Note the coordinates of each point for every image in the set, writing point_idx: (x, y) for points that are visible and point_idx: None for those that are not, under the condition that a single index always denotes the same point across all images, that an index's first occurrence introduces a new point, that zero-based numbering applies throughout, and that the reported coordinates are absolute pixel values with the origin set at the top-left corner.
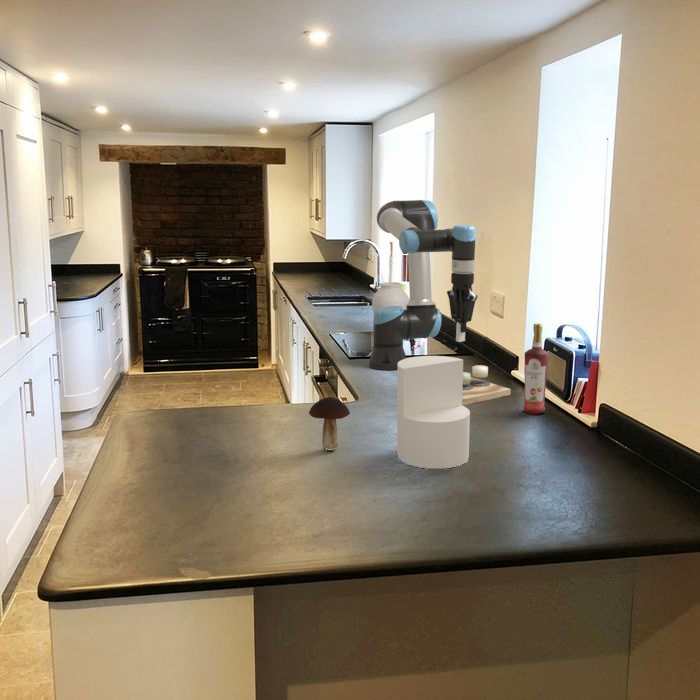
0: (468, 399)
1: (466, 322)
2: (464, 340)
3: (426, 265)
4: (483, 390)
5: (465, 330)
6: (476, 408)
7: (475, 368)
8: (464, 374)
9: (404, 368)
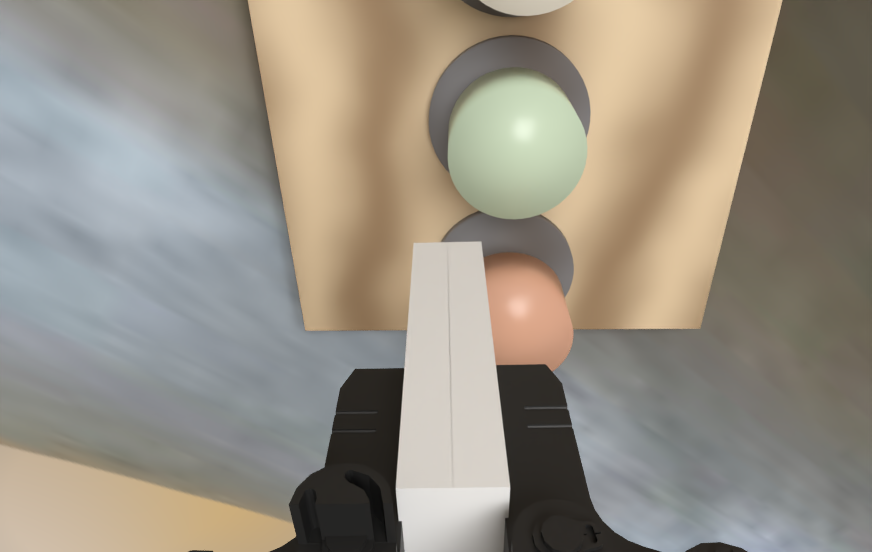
0: (716, 247)
1: (617, 545)
2: (481, 252)
3: None
4: (674, 37)
5: (562, 402)
6: (792, 246)
7: (538, 8)
8: (542, 157)
9: None
